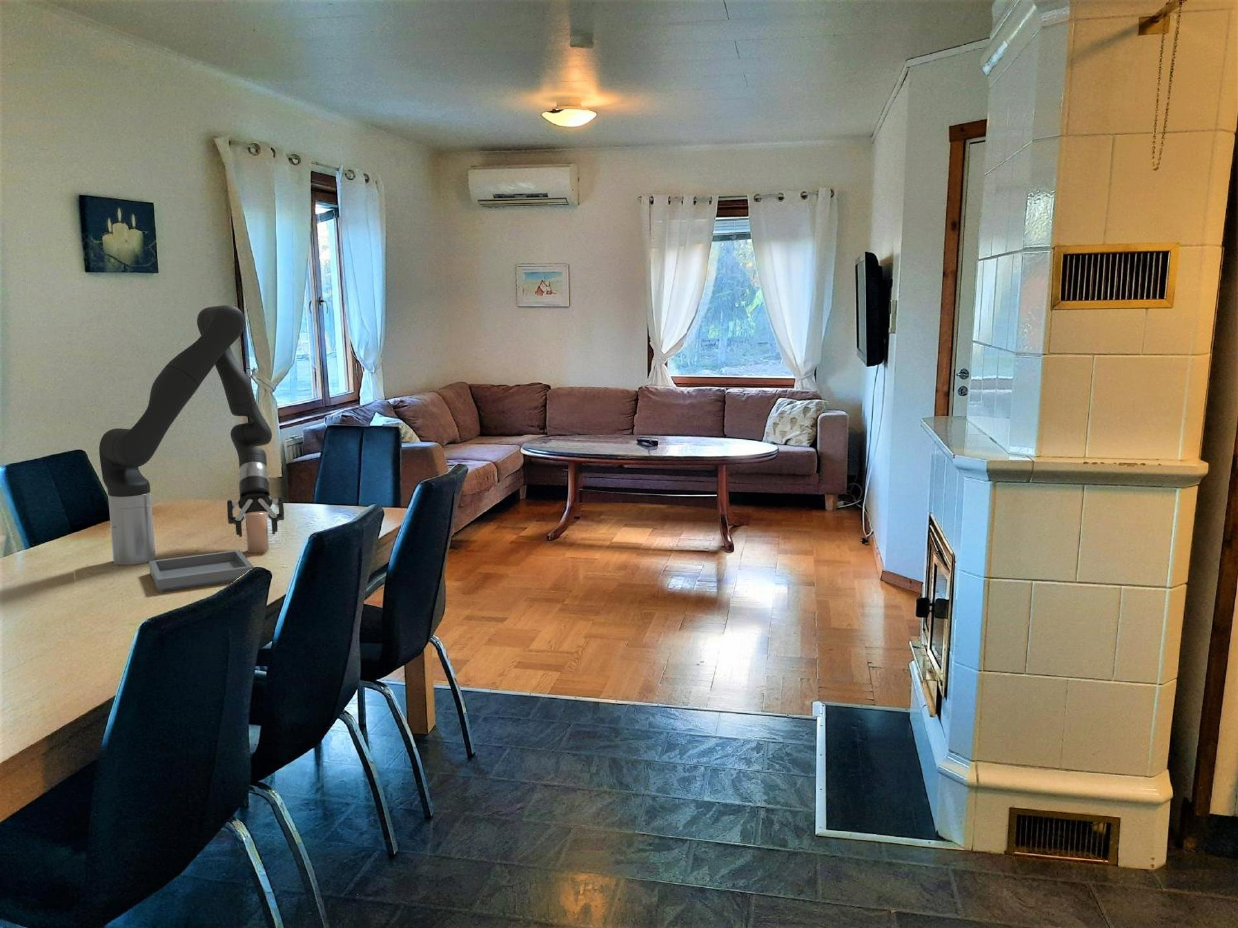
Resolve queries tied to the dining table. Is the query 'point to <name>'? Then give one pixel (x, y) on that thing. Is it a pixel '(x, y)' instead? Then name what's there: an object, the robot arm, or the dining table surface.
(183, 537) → the dining table surface
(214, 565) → the charcoal tray
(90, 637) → the dining table surface
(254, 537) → the terracotta canister
